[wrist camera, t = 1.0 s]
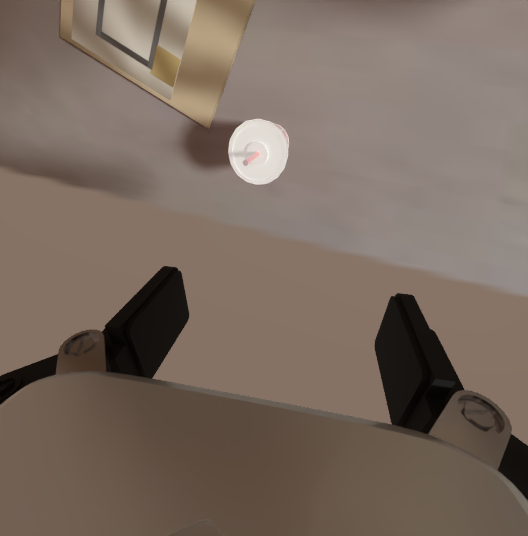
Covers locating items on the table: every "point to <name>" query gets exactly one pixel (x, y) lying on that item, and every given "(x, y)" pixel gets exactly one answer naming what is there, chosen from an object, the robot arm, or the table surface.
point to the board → (163, 45)
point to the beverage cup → (258, 151)
